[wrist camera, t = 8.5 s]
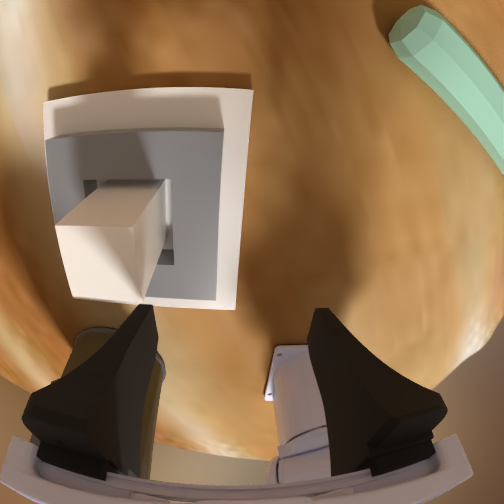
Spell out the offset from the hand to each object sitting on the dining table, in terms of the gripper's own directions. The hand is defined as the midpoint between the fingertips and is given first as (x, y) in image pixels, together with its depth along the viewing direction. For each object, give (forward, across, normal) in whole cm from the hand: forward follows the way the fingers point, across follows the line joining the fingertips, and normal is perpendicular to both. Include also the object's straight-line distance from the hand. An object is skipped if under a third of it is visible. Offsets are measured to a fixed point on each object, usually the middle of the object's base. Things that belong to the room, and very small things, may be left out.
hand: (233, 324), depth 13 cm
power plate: (+9, +6, -2) cm, 11 cm away
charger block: (+8, +6, -2) cm, 11 cm away
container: (+10, -21, -12) cm, 26 cm away
